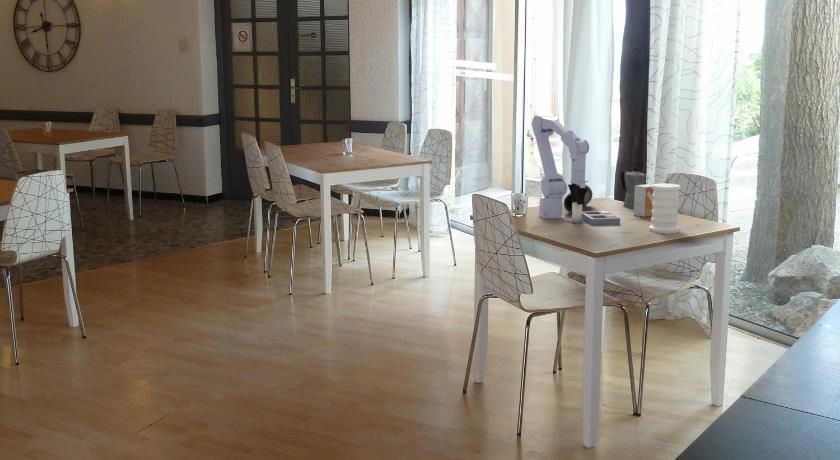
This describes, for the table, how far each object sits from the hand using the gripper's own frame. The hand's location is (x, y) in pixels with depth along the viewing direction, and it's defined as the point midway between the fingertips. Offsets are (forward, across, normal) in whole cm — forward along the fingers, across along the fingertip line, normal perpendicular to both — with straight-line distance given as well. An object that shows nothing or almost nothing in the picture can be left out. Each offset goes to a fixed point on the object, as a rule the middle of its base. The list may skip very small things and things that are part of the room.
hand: (577, 202), depth 383 cm
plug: (+8, 0, 0) cm, 8 cm away
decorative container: (+9, -19, -30) cm, 37 cm away
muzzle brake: (+9, +30, -9) cm, 33 cm away
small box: (+9, +14, -34) cm, 38 cm away
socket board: (+8, +2, -10) cm, 13 cm away
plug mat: (+8, 0, 0) cm, 9 cm away
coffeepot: (+9, +37, -36) cm, 52 cm away
